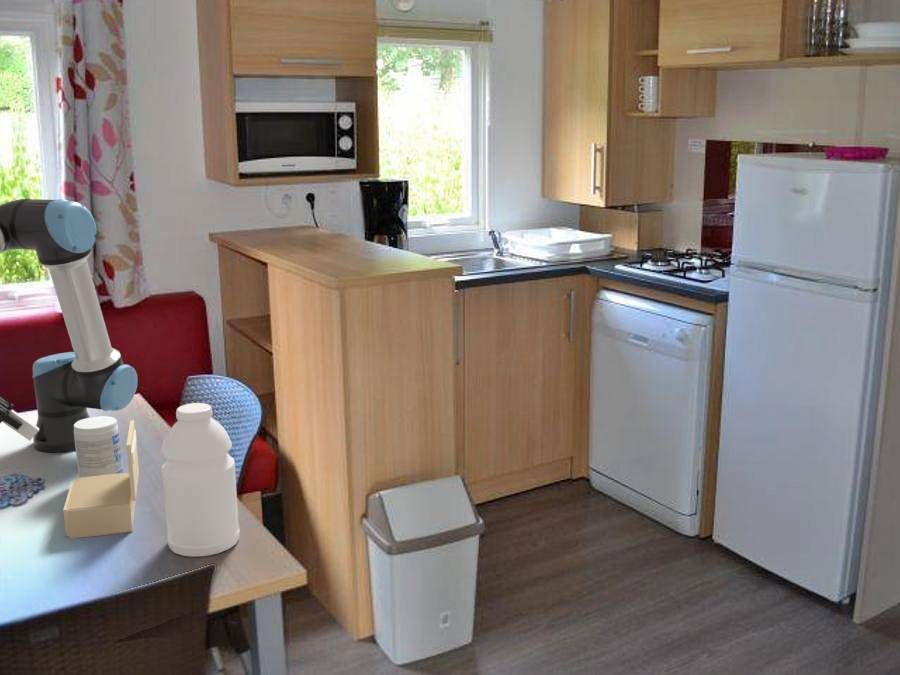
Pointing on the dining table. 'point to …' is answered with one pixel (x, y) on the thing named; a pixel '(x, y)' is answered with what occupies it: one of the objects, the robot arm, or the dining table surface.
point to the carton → (99, 506)
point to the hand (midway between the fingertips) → (34, 434)
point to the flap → (132, 459)
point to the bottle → (199, 484)
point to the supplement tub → (97, 446)
